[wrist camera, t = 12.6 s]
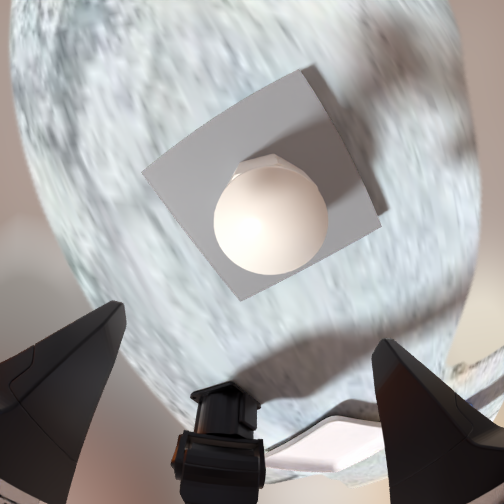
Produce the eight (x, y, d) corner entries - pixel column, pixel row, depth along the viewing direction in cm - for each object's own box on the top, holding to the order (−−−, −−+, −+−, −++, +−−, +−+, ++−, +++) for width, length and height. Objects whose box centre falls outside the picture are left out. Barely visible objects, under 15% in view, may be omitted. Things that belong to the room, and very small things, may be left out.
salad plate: (329, 401, 31) (333, 422, 28) (412, 415, 35) (417, 429, 32) (250, 450, 39) (250, 466, 36) (335, 460, 44) (336, 472, 41)
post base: (241, 290, 22) (237, 338, 17) (149, 168, 18) (113, 187, 13) (374, 219, 19) (407, 251, 14) (295, 73, 15) (311, 54, 10)
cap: (251, 139, 15) (248, 145, 11) (325, 182, 17) (349, 206, 12) (211, 212, 18) (195, 245, 13) (281, 248, 19) (288, 290, 14)
